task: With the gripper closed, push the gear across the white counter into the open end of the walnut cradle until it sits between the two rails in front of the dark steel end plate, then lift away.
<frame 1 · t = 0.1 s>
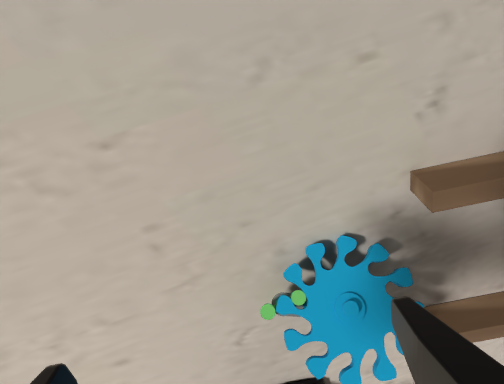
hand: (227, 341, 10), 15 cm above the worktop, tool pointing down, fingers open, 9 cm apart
cradle: (497, 238, 27), on the worktop
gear: (326, 270, 28), on the worktop
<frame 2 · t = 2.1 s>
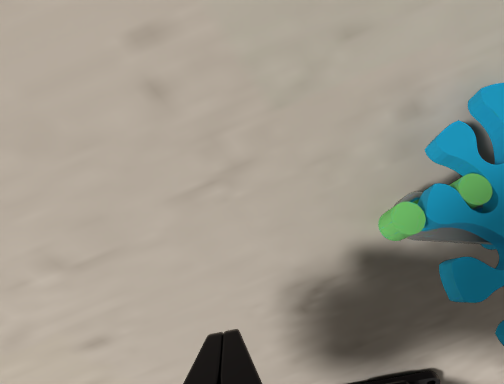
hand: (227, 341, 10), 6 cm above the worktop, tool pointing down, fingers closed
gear: (484, 164, 15), on the worktop
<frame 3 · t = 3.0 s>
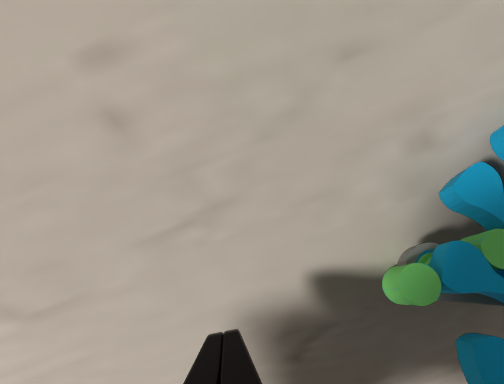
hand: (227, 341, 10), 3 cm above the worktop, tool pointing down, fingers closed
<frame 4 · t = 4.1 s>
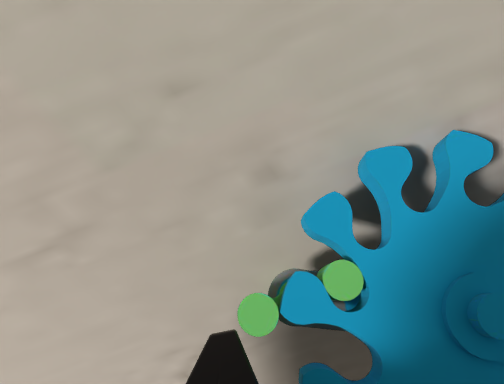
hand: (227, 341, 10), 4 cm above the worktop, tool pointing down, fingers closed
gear: (391, 228, 13), on the worktop, touching gripper
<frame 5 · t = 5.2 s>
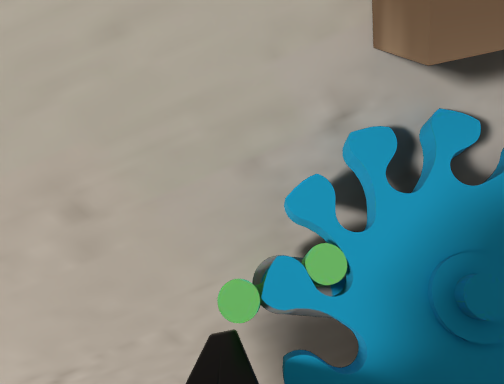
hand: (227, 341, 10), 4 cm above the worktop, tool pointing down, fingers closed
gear: (381, 214, 12), on the worktop, touching gripper
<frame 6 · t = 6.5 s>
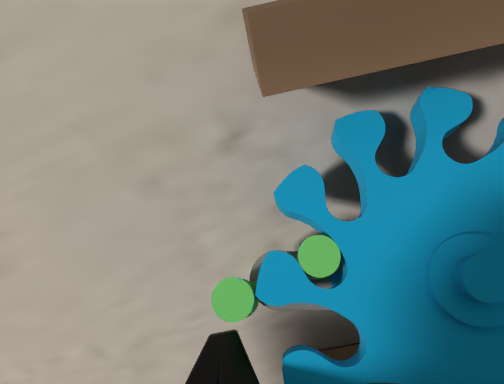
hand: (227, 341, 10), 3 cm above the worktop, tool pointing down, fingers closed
cradle: (482, 205, 12), on the worktop
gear: (380, 200, 12), on the worktop, touching gripper
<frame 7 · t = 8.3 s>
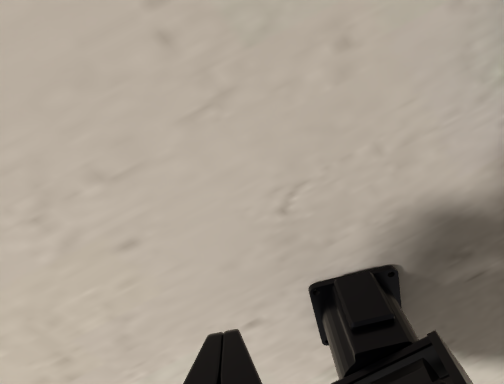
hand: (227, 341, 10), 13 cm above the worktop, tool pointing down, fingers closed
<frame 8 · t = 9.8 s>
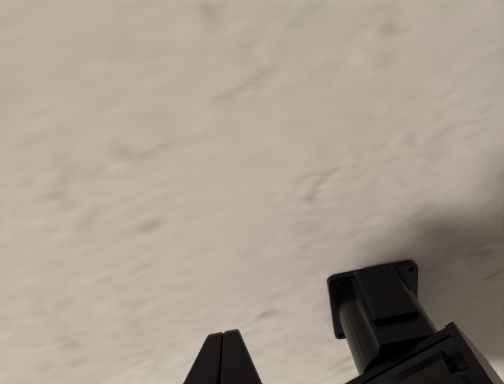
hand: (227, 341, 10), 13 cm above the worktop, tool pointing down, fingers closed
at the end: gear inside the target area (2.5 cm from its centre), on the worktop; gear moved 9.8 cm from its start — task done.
